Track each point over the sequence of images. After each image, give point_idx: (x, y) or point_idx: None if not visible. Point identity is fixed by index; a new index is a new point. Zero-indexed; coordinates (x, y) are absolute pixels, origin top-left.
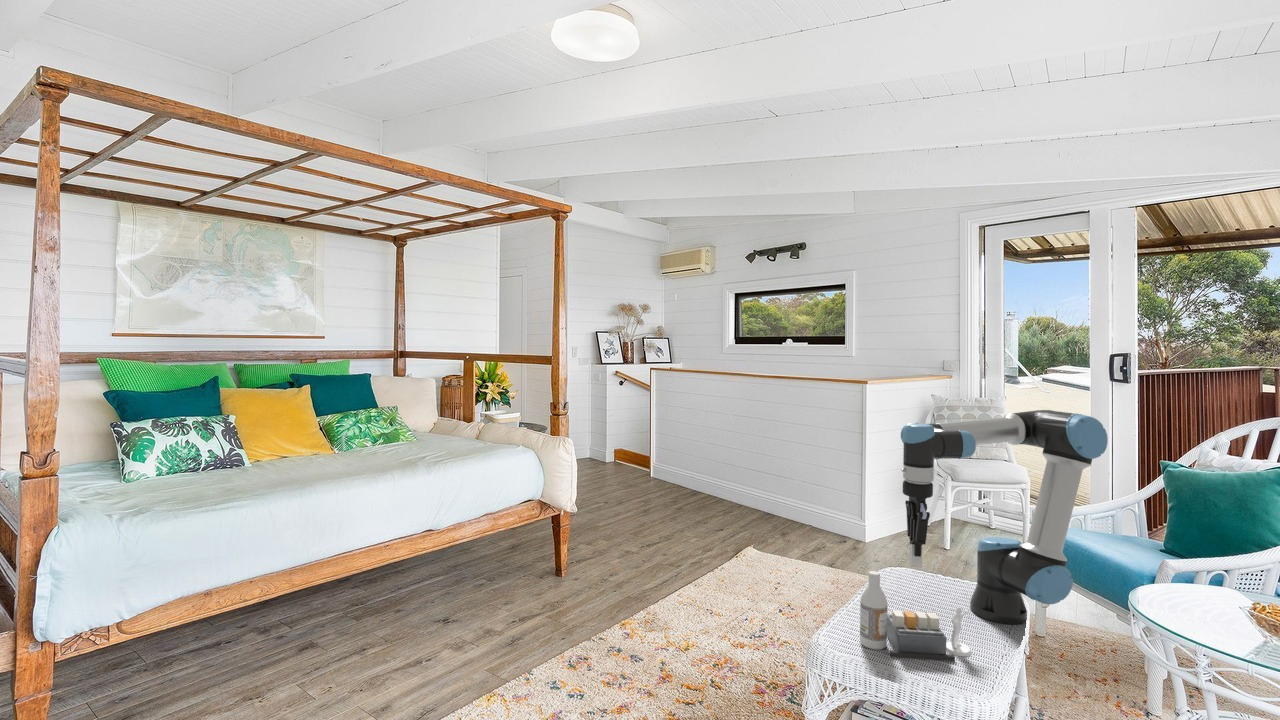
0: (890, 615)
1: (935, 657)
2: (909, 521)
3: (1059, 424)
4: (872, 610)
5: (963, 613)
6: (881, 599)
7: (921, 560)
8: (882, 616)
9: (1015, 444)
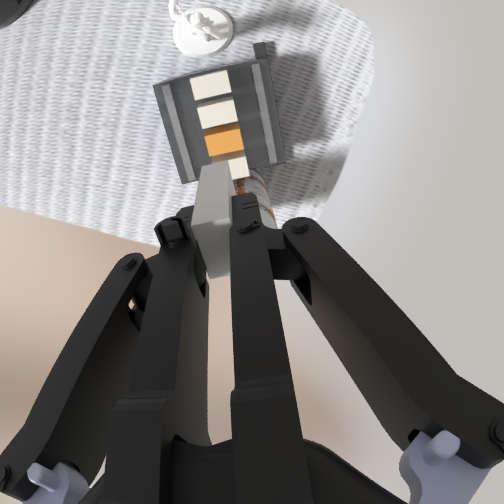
0: (195, 177)
1: None
2: (128, 378)
3: None
4: None
5: (175, 9)
6: None
7: (228, 175)
8: (269, 206)
9: None
